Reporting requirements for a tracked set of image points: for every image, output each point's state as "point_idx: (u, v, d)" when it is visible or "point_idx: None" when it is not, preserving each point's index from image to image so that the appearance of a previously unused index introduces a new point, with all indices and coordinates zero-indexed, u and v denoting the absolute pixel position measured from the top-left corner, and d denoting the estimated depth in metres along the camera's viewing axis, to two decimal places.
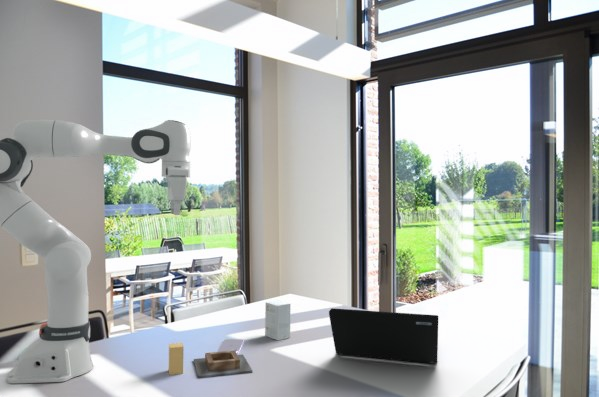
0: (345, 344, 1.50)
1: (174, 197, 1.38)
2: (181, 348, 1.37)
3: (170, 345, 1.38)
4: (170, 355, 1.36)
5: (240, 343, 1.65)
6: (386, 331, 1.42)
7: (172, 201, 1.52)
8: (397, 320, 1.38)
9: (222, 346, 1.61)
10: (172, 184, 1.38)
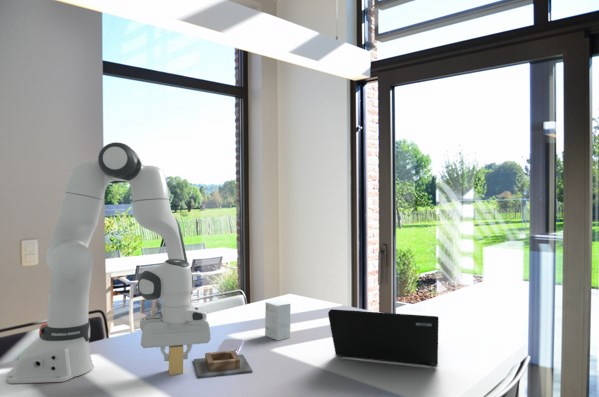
0: (344, 345, 1.49)
1: (209, 340, 1.40)
2: (181, 348, 1.37)
3: None
4: (170, 355, 1.36)
5: (240, 343, 1.65)
6: (386, 332, 1.41)
7: None
8: (397, 322, 1.37)
9: (222, 346, 1.61)
10: (209, 327, 1.39)
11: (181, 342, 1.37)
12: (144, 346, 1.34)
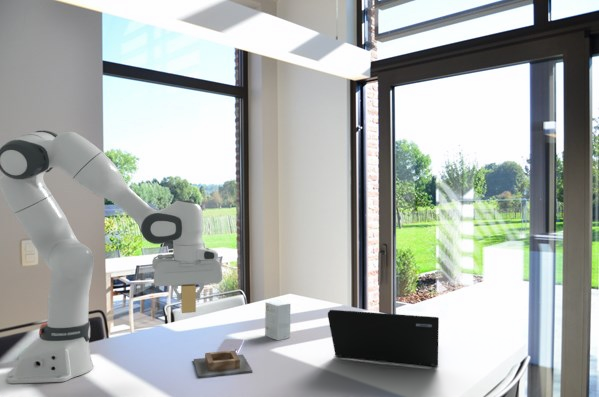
0: (344, 346, 1.48)
1: (221, 280, 1.41)
2: (193, 287, 1.37)
3: None
4: (182, 294, 1.36)
5: (240, 343, 1.65)
6: (386, 333, 1.40)
7: (177, 286, 1.37)
8: (397, 322, 1.36)
9: (222, 346, 1.61)
10: None
11: (193, 281, 1.38)
12: (157, 284, 1.34)
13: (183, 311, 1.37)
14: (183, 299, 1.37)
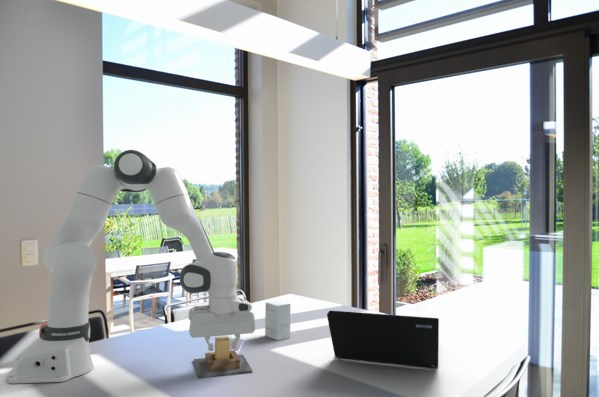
0: (344, 347, 1.47)
1: (254, 330, 1.45)
2: (227, 341, 1.41)
3: (216, 339, 1.42)
4: (217, 348, 1.40)
5: (240, 343, 1.65)
6: (386, 334, 1.39)
7: (209, 337, 1.41)
8: (396, 323, 1.35)
9: None
10: None
11: (227, 332, 1.42)
12: (193, 336, 1.38)
13: None
14: (218, 353, 1.40)
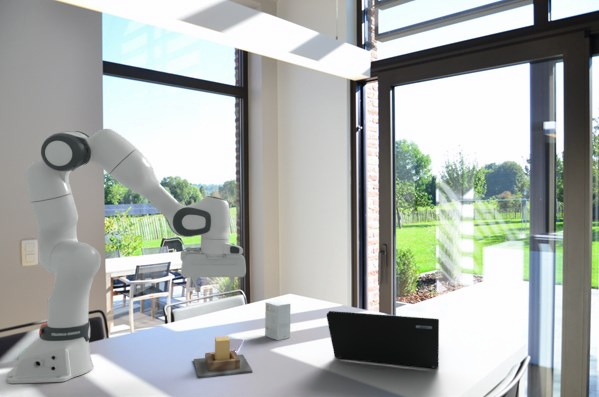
0: (343, 347, 1.47)
1: None
2: (227, 341, 1.41)
3: (216, 338, 1.43)
4: (217, 348, 1.40)
5: (240, 343, 1.65)
6: (385, 335, 1.38)
7: None
8: (396, 324, 1.34)
9: None
10: None
11: (218, 274, 1.44)
12: (184, 275, 1.41)
13: None
14: (218, 353, 1.41)
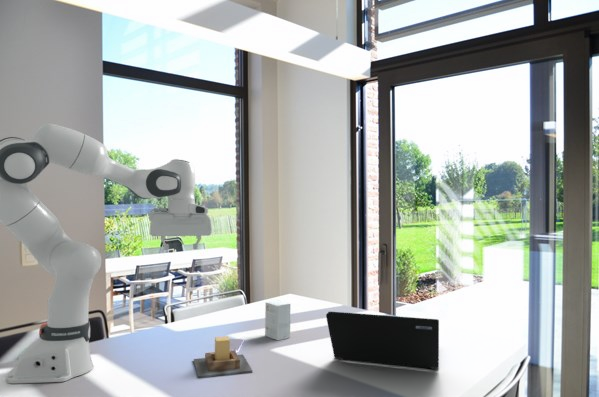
0: (343, 348, 1.46)
1: None
2: (227, 341, 1.41)
3: (216, 338, 1.43)
4: (217, 348, 1.40)
5: (239, 343, 1.65)
6: (385, 336, 1.38)
7: None
8: (396, 324, 1.34)
9: None
10: (210, 221, 1.55)
11: (185, 233, 1.53)
12: (152, 234, 1.50)
13: None
14: (218, 353, 1.41)
